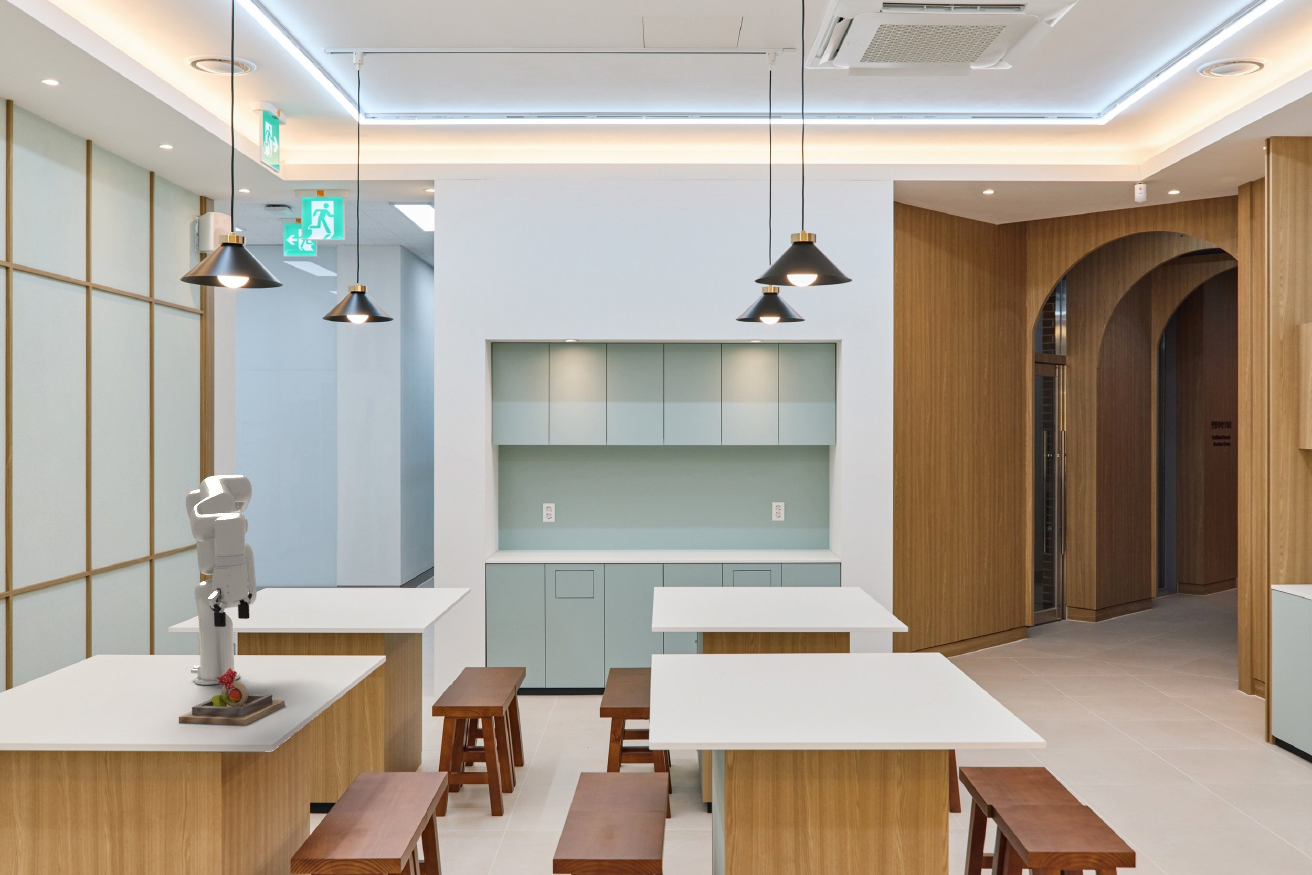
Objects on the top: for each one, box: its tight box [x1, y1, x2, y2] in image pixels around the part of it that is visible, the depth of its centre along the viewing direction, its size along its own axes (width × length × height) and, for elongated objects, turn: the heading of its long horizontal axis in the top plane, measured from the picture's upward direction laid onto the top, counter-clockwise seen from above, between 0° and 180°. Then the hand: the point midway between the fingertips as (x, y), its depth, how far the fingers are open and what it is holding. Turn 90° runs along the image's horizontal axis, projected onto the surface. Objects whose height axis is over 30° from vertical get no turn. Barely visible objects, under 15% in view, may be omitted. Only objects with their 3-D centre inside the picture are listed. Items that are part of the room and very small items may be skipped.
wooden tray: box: [178, 693, 286, 726], centre depth 246 cm, size 20×17×4 cm
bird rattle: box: [210, 668, 249, 707], centre depth 245 cm, size 6×11×9 cm
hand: (232, 622), depth 250 cm, fingers open, 9 cm apart
